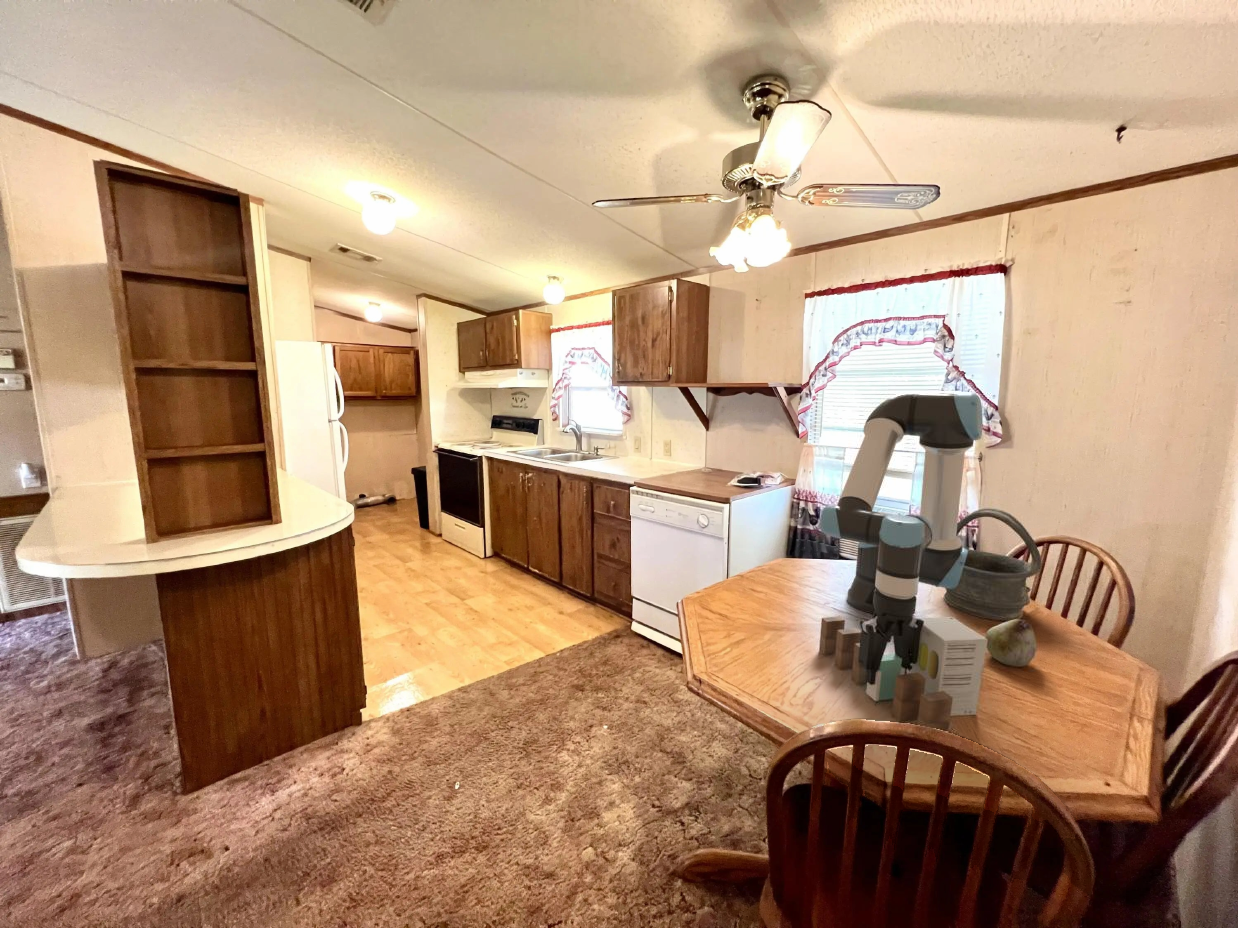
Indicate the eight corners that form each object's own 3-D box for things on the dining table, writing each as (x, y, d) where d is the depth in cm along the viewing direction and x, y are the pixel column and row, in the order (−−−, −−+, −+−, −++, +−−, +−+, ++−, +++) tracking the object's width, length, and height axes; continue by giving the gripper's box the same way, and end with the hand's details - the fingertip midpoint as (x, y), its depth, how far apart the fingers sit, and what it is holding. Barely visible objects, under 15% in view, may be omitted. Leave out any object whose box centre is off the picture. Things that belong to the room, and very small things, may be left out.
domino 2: (852, 662, 114) (856, 627, 113) (858, 667, 113) (862, 632, 111) (834, 665, 113) (837, 629, 112) (839, 669, 112) (843, 634, 110)
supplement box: (903, 687, 105) (911, 616, 102) (942, 686, 106) (951, 615, 103) (935, 717, 96) (945, 640, 93) (978, 715, 96) (989, 638, 94)
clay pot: (966, 586, 159) (978, 498, 154) (1049, 617, 137) (1066, 517, 132) (919, 596, 151) (929, 503, 146) (999, 631, 129) (1014, 524, 124)
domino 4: (912, 712, 97) (917, 672, 96) (920, 719, 95) (925, 678, 94) (891, 715, 96) (896, 675, 95) (899, 722, 94) (904, 681, 93)
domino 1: (836, 649, 120) (839, 615, 119) (841, 653, 118) (845, 619, 117) (819, 651, 119) (821, 617, 118) (824, 655, 117) (826, 621, 116)
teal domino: (890, 691, 103) (894, 653, 101) (897, 697, 101) (902, 658, 99) (869, 694, 102) (874, 655, 100) (876, 700, 100) (881, 661, 98)
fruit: (1019, 677, 109) (1027, 628, 107) (973, 656, 117) (980, 611, 115) (1041, 665, 114) (1049, 618, 112) (995, 646, 122) (1002, 602, 120)
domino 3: (870, 677, 109) (874, 641, 107) (877, 682, 107) (881, 645, 105) (851, 680, 108) (854, 643, 106) (857, 685, 106) (861, 648, 104)
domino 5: (937, 733, 91) (943, 690, 90) (946, 741, 89) (952, 697, 88) (915, 737, 90) (920, 694, 89) (924, 745, 88) (929, 701, 87)
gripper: (917, 581, 103) (906, 679, 107) (844, 587, 99) (834, 689, 103) (948, 595, 96) (934, 701, 99) (869, 603, 92) (858, 712, 96)
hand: (883, 694), depth 101 cm, fingers closed on teal domino, 5 cm apart
